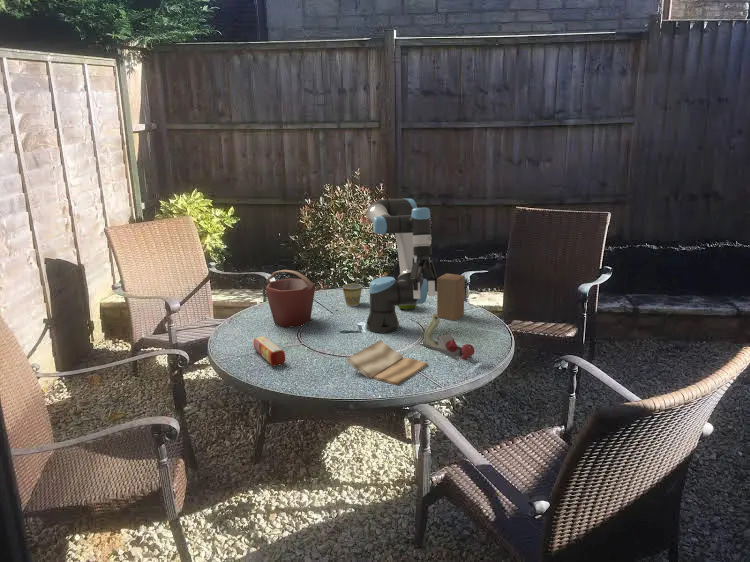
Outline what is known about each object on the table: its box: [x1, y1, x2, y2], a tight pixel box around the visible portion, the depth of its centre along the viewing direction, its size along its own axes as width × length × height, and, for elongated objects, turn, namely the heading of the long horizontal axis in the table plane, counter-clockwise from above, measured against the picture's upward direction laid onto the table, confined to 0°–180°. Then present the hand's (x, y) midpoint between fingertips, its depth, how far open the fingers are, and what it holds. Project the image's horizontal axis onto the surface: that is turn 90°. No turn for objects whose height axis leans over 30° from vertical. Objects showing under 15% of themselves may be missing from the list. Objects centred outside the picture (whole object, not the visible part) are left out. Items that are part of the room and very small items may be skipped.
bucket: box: [265, 269, 316, 328], centre depth 300 cm, size 24×22×25 cm
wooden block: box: [436, 272, 466, 321], centre depth 304 cm, size 10×10×20 cm
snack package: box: [253, 335, 286, 367], centre depth 259 cm, size 21×7×7 cm, turn 30°
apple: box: [397, 305, 417, 311], centre depth 319 cm, size 11×11×11 cm
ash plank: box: [346, 339, 404, 379], centre depth 246 cm, size 13×22×2 cm, turn 146°
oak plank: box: [374, 357, 428, 386], centre depth 241 cm, size 10×22×2 cm, turn 146°
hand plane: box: [418, 313, 476, 362], centre depth 259 cm, size 7×31×15 cm, turn 34°
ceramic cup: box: [342, 283, 363, 307], centre depth 327 cm, size 13×10×10 cm
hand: (424, 297), depth 259 cm, fingers open, 13 cm apart
